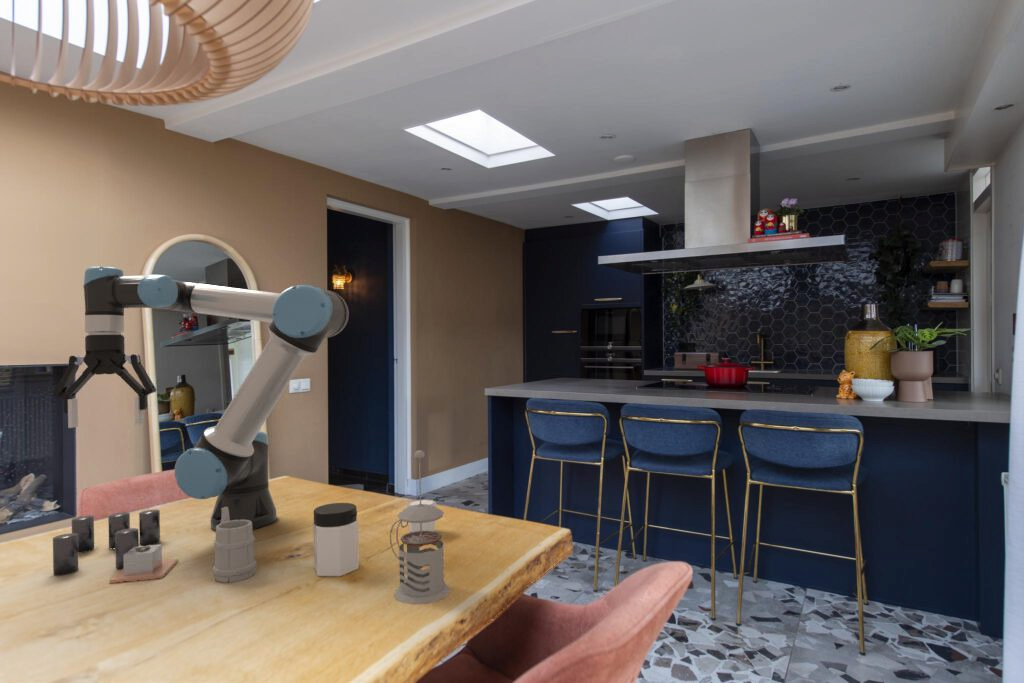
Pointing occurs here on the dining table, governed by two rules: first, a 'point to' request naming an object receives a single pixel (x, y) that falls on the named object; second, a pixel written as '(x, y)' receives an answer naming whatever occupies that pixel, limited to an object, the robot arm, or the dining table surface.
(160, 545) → the nut
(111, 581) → the coaster
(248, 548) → the mug
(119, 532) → the cylinder
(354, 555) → the jar
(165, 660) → the dining table surface
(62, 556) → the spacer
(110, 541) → the cylinder
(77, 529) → the cylinder
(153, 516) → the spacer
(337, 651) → the dining table surface
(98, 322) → the robot arm
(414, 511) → the french press
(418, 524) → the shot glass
